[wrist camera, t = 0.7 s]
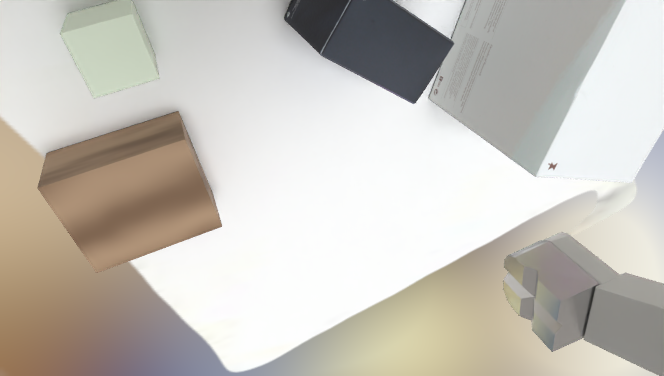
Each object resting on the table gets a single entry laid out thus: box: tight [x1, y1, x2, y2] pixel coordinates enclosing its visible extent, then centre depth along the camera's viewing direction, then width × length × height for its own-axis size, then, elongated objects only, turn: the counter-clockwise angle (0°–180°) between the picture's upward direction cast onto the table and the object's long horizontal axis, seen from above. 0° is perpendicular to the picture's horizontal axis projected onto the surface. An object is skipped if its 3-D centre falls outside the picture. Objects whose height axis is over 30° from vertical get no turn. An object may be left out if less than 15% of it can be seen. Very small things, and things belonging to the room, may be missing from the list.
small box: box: [284, 0, 454, 104], centre depth 41 cm, size 11×6×10 cm, turn 58°
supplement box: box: [429, 0, 664, 183], centre depth 46 cm, size 17×13×18 cm
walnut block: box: [38, 111, 222, 273], centre depth 44 cm, size 10×12×6 cm
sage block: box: [60, 0, 160, 98], centre depth 37 cm, size 5×5×6 cm
